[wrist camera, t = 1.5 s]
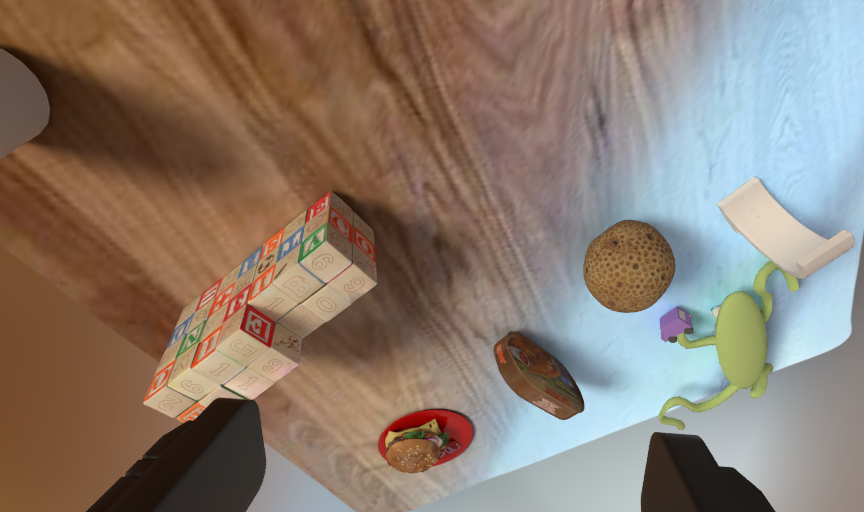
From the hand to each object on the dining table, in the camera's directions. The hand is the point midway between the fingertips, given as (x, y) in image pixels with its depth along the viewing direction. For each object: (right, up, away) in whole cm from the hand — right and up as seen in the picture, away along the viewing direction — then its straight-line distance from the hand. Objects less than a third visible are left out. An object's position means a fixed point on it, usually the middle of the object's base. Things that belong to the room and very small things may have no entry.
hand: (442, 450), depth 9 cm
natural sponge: (+19, +6, +43) cm, 47 cm away
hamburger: (-1, -23, +59) cm, 63 cm away
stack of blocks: (-16, +3, +38) cm, 42 cm away
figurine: (+39, -8, +56) cm, 69 cm away
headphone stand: (+35, +10, +43) cm, 56 cm away
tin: (+12, -9, +52) cm, 54 cm away
